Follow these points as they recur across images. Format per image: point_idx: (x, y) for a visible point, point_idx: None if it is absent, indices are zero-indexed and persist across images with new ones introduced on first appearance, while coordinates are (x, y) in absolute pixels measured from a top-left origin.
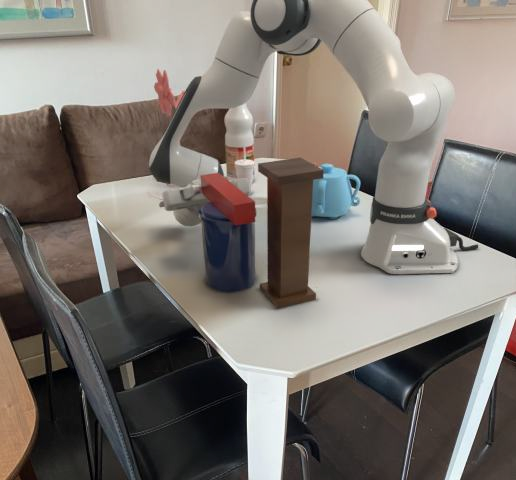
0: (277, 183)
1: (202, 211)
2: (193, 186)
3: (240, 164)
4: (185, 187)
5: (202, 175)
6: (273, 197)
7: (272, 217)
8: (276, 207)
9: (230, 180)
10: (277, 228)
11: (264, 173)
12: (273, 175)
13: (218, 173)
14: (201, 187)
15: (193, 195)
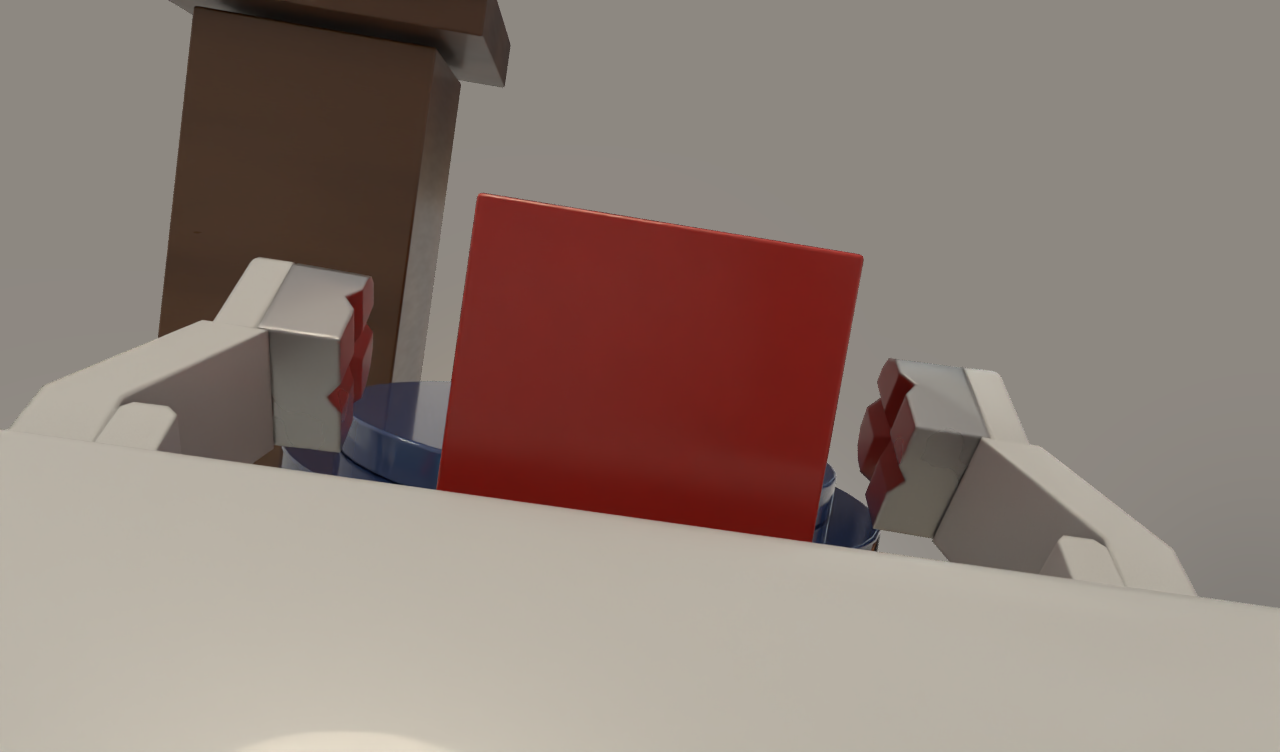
0: (504, 80)
1: (838, 520)
2: (973, 375)
3: None
4: (1173, 595)
5: (824, 249)
6: (433, 188)
7: (412, 324)
8: (431, 238)
9: (351, 273)
10: (415, 362)
11: (492, 41)
12: (505, 42)
13: (503, 198)
14: (819, 487)
15: (960, 542)
